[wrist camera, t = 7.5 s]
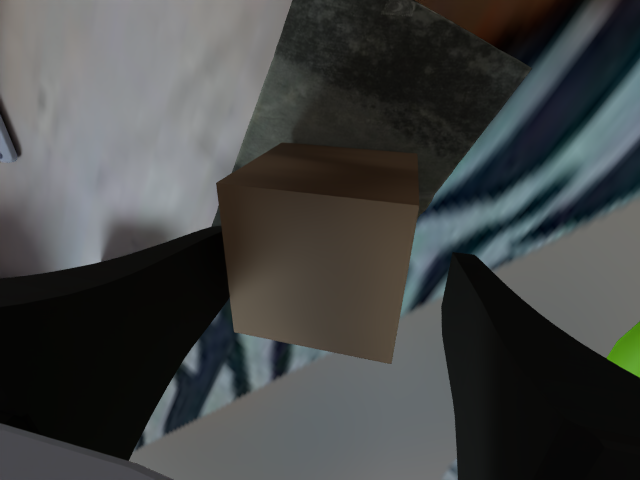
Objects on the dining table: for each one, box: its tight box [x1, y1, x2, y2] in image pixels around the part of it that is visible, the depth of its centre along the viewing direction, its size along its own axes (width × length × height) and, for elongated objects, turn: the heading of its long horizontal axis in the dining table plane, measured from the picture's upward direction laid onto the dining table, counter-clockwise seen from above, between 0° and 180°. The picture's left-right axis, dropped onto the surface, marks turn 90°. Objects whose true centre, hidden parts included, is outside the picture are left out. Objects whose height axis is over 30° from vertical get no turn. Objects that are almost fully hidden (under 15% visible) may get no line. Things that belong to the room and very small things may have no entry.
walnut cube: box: [216, 142, 419, 364], centre depth 11 cm, size 5×5×5 cm
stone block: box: [212, 0, 532, 227], centre depth 16 cm, size 9×14×5 cm, turn 153°
